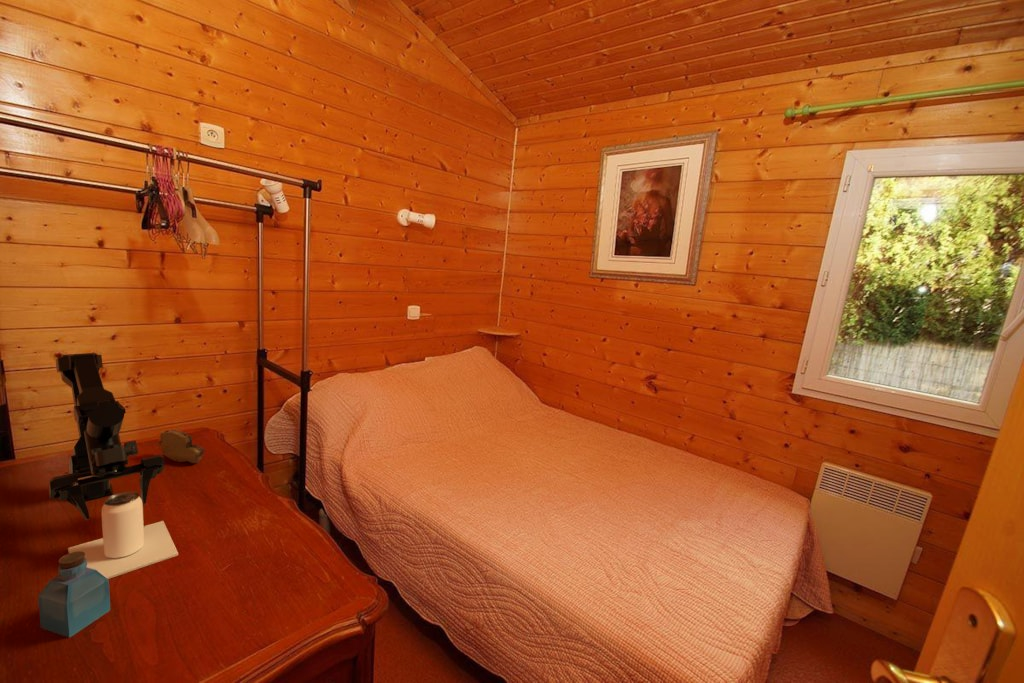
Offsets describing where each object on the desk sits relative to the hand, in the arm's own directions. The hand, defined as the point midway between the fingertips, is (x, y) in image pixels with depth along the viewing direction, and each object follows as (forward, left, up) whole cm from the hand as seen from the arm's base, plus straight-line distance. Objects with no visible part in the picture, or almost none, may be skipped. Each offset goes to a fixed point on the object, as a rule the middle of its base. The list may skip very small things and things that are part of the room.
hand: (117, 511), depth 94 cm
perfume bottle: (+21, -8, -8) cm, 24 cm away
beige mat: (+4, 0, -8) cm, 9 cm away
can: (+4, +1, -7) cm, 9 cm away
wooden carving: (-39, +18, -8) cm, 44 cm away
